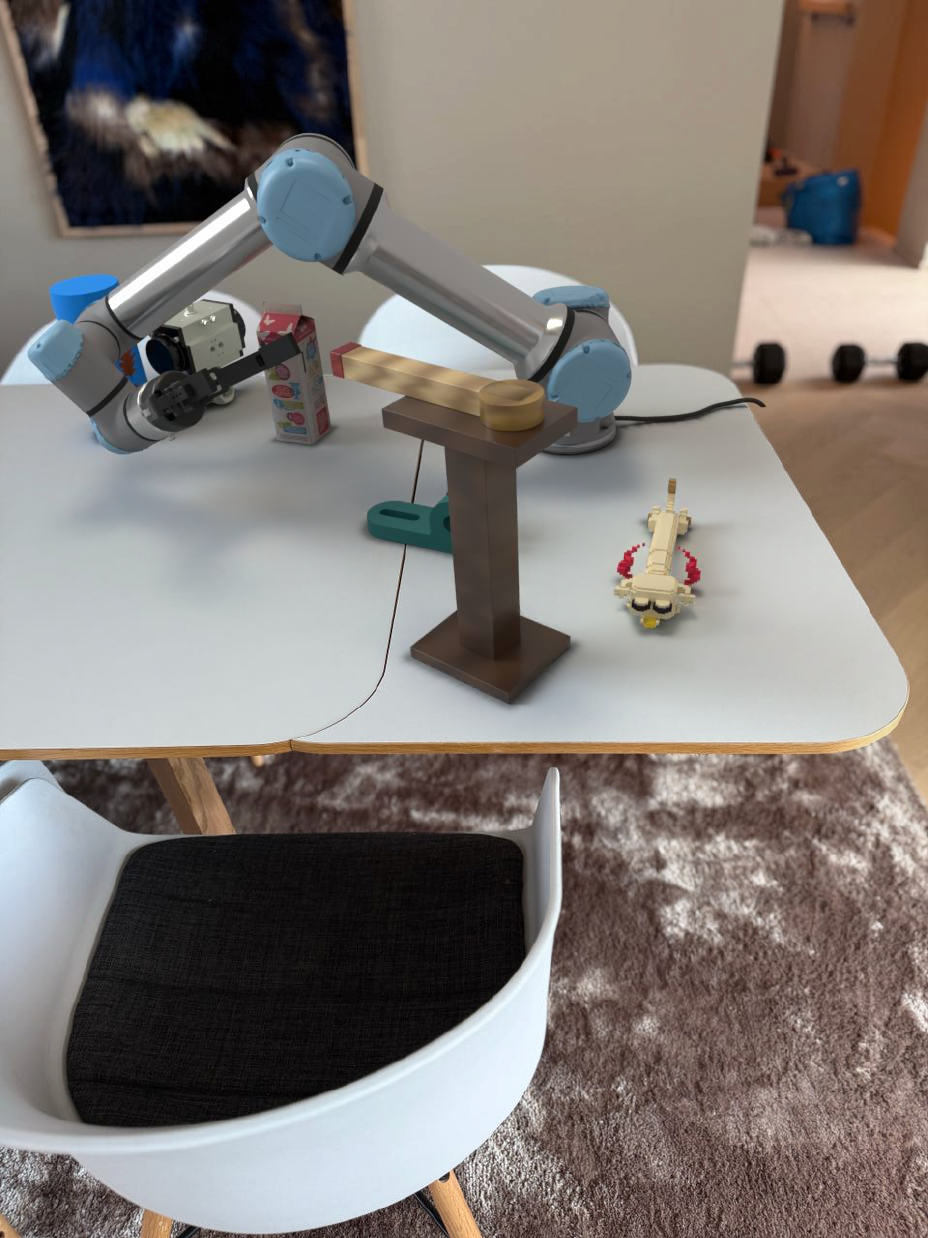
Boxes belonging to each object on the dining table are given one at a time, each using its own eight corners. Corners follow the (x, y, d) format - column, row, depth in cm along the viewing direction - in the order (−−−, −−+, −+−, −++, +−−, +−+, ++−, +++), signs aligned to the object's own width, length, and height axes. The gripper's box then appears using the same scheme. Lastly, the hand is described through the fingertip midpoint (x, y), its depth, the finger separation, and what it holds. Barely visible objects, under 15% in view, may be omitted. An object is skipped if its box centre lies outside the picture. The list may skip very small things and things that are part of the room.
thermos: (172, 423, 160) (133, 278, 145) (125, 449, 153) (78, 299, 138) (130, 412, 165) (88, 270, 150) (83, 436, 158) (33, 290, 143)
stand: (404, 653, 105) (373, 412, 87) (468, 602, 113) (452, 369, 95) (516, 708, 97) (508, 453, 79) (578, 649, 104) (583, 403, 86)
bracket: (497, 532, 125) (495, 482, 120) (477, 558, 120) (474, 506, 116) (382, 511, 132) (376, 462, 127) (359, 534, 127) (352, 484, 122)
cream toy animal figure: (631, 529, 126) (605, 625, 106) (635, 470, 121) (609, 559, 101) (705, 536, 124) (692, 636, 104) (712, 476, 119) (700, 569, 99)
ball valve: (196, 424, 159) (170, 324, 148) (161, 416, 163) (134, 317, 152) (264, 386, 171) (244, 290, 160) (230, 379, 175) (209, 285, 164)
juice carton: (297, 423, 157) (273, 294, 144) (331, 427, 155) (310, 297, 142) (277, 440, 152) (251, 308, 139) (312, 445, 150) (289, 311, 137)
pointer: (323, 380, 94) (319, 356, 93) (363, 361, 98) (359, 337, 96) (519, 437, 81) (518, 410, 80) (557, 412, 85) (557, 386, 83)
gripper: (249, 399, 131) (339, 357, 116) (103, 467, 115) (186, 429, 100) (223, 349, 128) (312, 300, 114) (71, 412, 112) (152, 364, 98)
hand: (253, 360), depth 107 cm, fingers open, 13 cm apart
